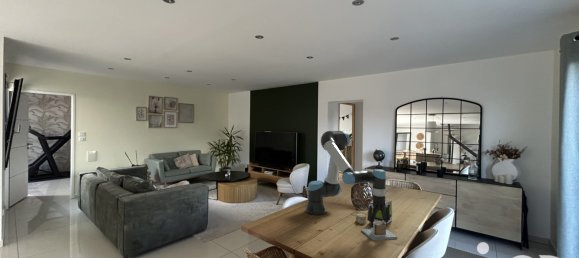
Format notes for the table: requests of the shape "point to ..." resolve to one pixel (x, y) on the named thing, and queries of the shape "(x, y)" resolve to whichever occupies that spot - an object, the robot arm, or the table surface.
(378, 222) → the walnut cube
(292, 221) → the table surface
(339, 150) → the robot arm
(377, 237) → the board
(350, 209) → the table surface
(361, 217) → the oak cube
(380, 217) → the tea box
